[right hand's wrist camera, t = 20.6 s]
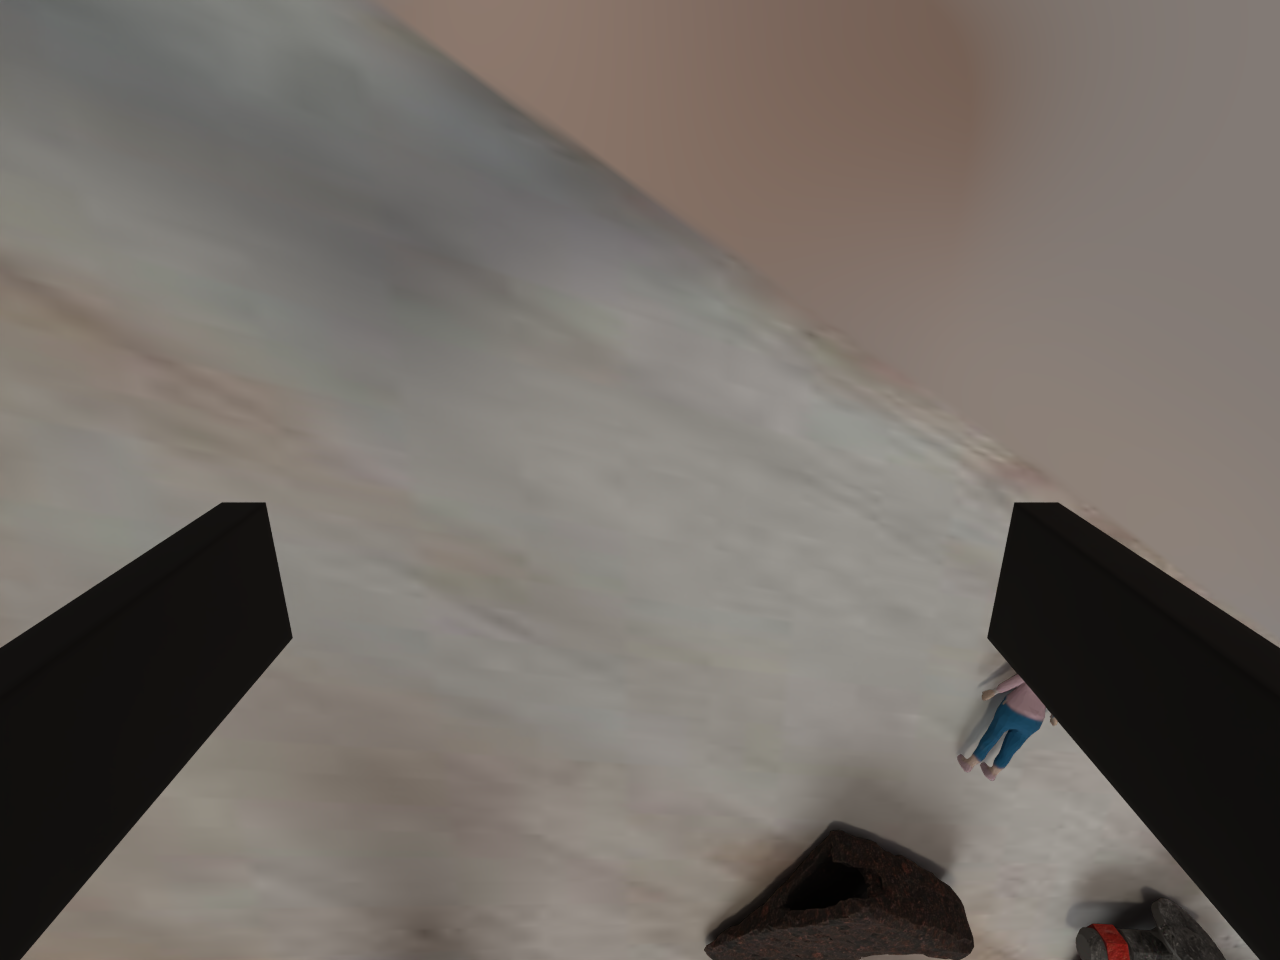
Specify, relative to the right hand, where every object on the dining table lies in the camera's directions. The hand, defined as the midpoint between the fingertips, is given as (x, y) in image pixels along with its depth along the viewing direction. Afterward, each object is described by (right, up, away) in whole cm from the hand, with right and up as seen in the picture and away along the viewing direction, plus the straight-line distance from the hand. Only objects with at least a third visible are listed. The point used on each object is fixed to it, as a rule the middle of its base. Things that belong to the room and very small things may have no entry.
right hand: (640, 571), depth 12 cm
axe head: (+15, -35, +46) cm, 59 cm away
